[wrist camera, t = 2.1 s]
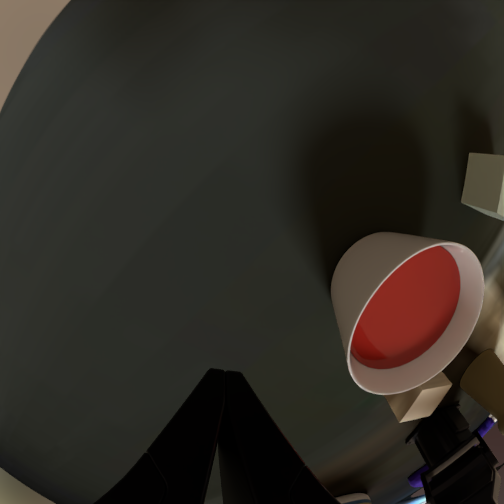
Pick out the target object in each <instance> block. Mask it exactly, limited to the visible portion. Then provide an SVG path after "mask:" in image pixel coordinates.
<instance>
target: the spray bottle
mask: <svg viewBox="0 0 504 504" xmlns="http://www.w3.org/2000/svg"><path fill="white" fill-rule="evenodd" d="M496 421H497V419H496V418H495V417H493V416H492V415H491V414H490V415H489V417H488V418H487V419H486V420H485V422H484V423H483V424H482V425H480V426H479V428H478V429H477V431H478V432H479V434H480V435H481V437H483V436H484V435H485V434H486V433H487V431H488V430H489V429H490V428H491V427H492V425H493V424H494V422H496ZM474 432H475V431H474ZM474 432H473V433H474ZM473 433H472V434H473ZM428 469H429V468H428V466H427V464H426V465H425V466H424V467H422V468H421V469H420V470H418V471H417V472H415V473H414V474H413V475H411V476H410V477H409V478H408V481H409V483H410V485H411V486H413V487H423V485H422V482H421V479H420V477H421V476H420V474H421V473H422V472H425V471H426V470H428Z"/></svg>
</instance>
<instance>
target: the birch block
mask: <svg viewBox="0 0 504 504" xmlns="http://www.w3.org/2000/svg"><path fill="white" fill-rule="evenodd" d="M451 386H452V383H451V382H450V381H449V379H448V378H447V377H446V376H445V375H444V373H443V372H442V371H441V372H439V373H438V374H437V375H435V376H434V377H433V378H431V379H430V380H428V381H427V382H425V383H423V384H421V385H419V386H417V387H415V388H413V389H411V390H408V391H405V392H401V393H397V394H390V395H384V396H385V398H386V400H387V402H388V403H389V405H390V407H391V409H392V410H393V412H394V414H395V416H396V418H397V419H398V421H399V423H401V422H405V421H410V420H415V419H419V418H423V417H427V416H430V415H431V414H432V413H433V411H434V410H435V409H436V407H437V406H438V404H439V403H440V402H441V400H442V399H443V397H444V396H445V395H446V393H447V392H448V390H449V389H450V387H451Z"/></svg>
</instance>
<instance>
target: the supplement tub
mask: <svg viewBox="0 0 504 504" xmlns="http://www.w3.org/2000/svg"><path fill="white" fill-rule="evenodd" d="M336 499H337V500H338V501H339V502H340V503H341V504H371V501H370V498H369V496H368V495H366V494H364V493H354V494H348V495H344V496H340V497H336Z"/></svg>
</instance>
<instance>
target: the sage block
mask: <svg viewBox="0 0 504 504" xmlns="http://www.w3.org/2000/svg"><path fill="white" fill-rule="evenodd" d="M461 203H463V204H465V205H467V206H470V207H472V208H474V209H476V210H478V211H480V212H482V213H484V214H486V215H488V216H491V217H494V218H497V219H500V220H503V221H504V156H502V155H492V154H481V153H469V158H468V165H467V172H466V178H465V183H464V189H463V194H462V199H461Z"/></svg>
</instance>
